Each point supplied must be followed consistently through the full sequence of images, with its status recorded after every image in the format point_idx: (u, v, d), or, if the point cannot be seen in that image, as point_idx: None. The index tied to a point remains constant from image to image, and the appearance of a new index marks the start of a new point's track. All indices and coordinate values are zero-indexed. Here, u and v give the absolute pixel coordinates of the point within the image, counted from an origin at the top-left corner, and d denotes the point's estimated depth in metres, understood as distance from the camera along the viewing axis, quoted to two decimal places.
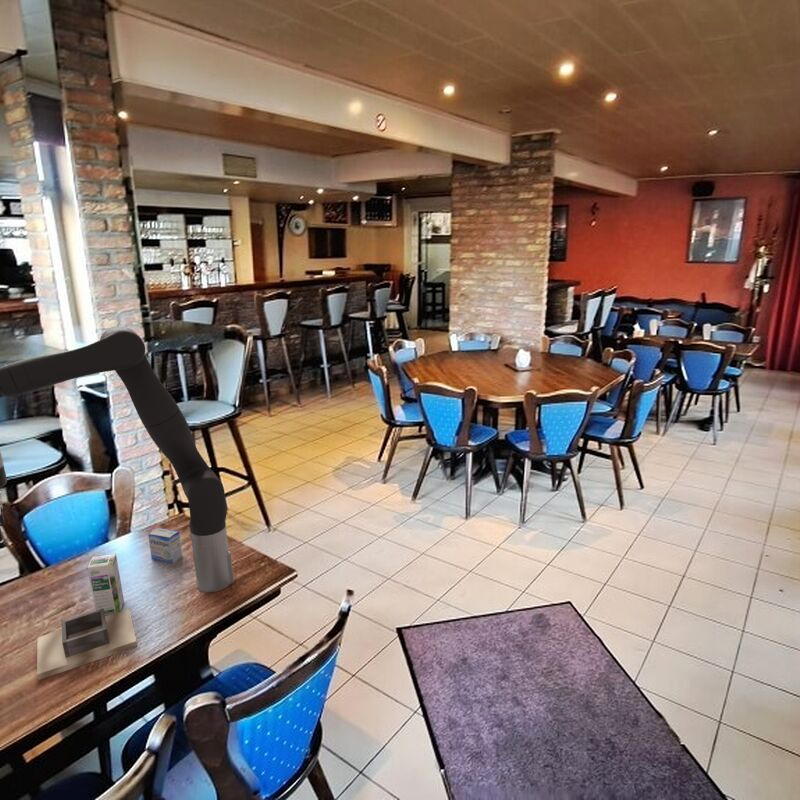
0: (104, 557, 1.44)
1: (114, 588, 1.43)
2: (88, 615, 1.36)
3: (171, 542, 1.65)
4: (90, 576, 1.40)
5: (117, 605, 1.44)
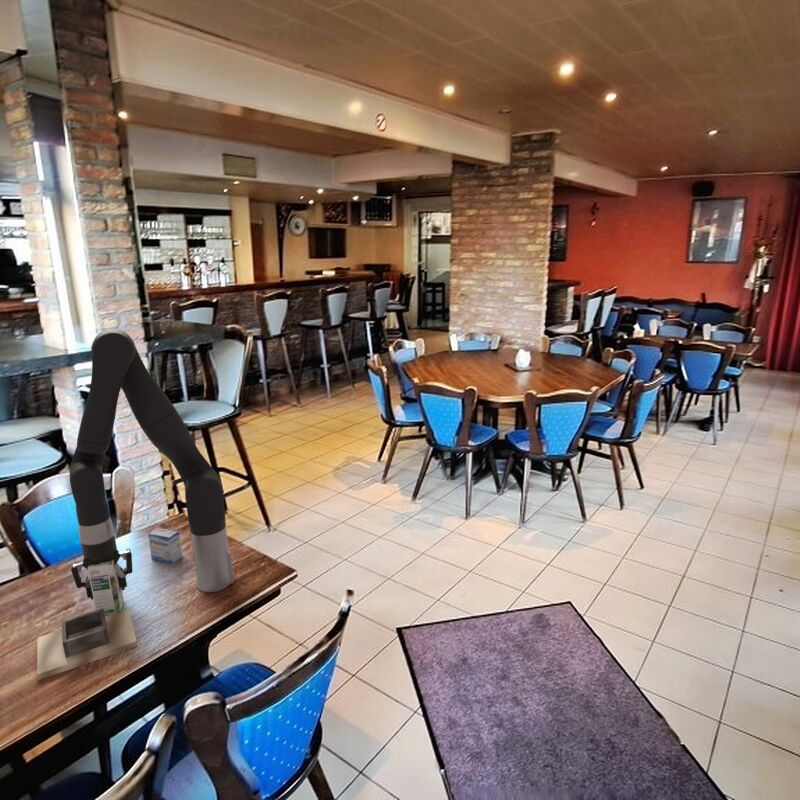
0: None
1: (114, 588, 1.43)
2: (88, 615, 1.36)
3: (171, 542, 1.65)
4: (90, 576, 1.40)
5: (117, 605, 1.44)
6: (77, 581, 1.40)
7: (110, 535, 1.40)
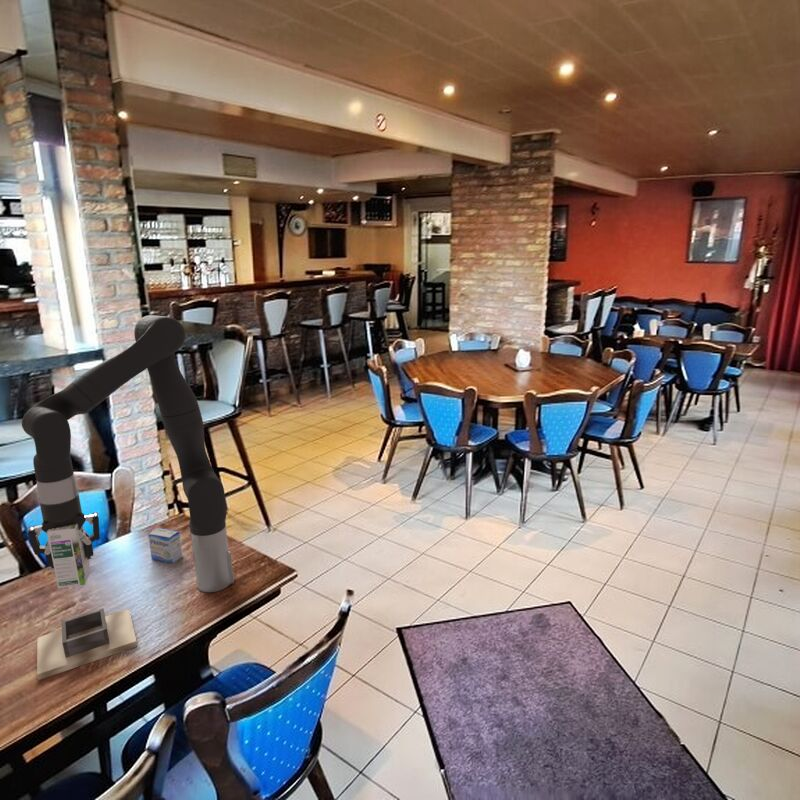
0: None
1: (78, 556, 1.26)
2: (88, 615, 1.36)
3: (171, 542, 1.65)
4: (50, 541, 1.23)
5: (81, 575, 1.27)
6: (35, 546, 1.23)
7: (73, 495, 1.23)
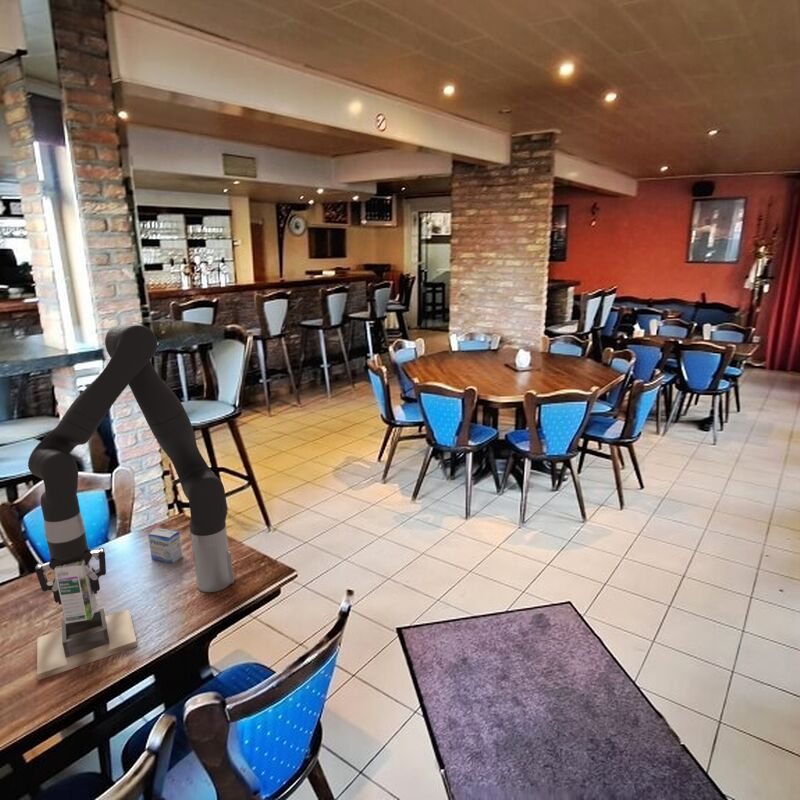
0: None
1: (85, 592, 1.28)
2: None
3: (171, 542, 1.65)
4: (57, 578, 1.25)
5: (88, 610, 1.29)
6: (43, 584, 1.25)
7: (80, 532, 1.25)
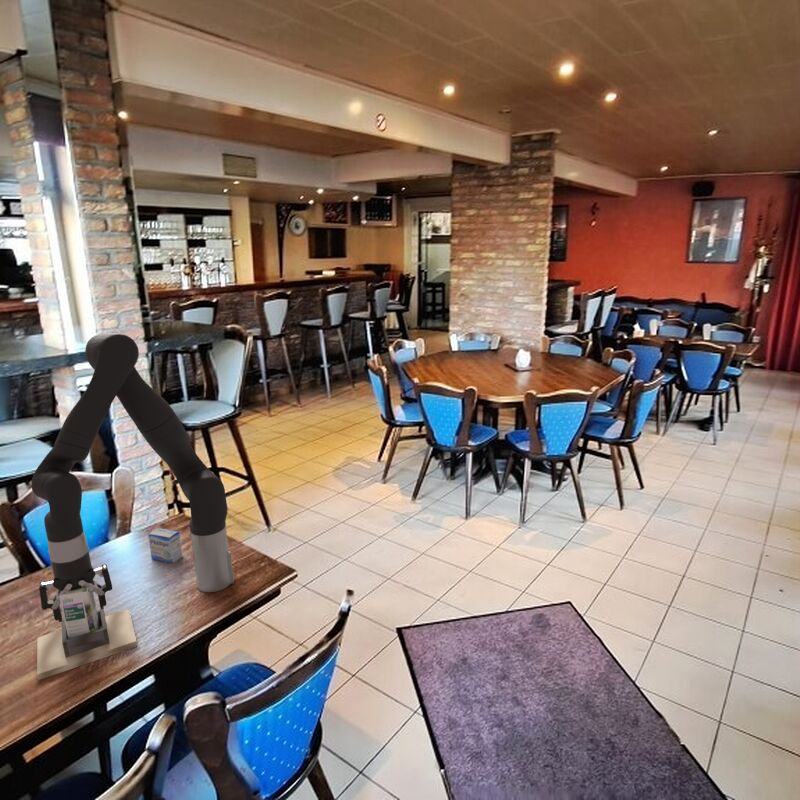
0: None
1: (90, 617, 1.30)
2: None
3: (171, 542, 1.65)
4: (62, 605, 1.27)
5: None
6: (43, 602, 1.26)
7: (83, 552, 1.26)
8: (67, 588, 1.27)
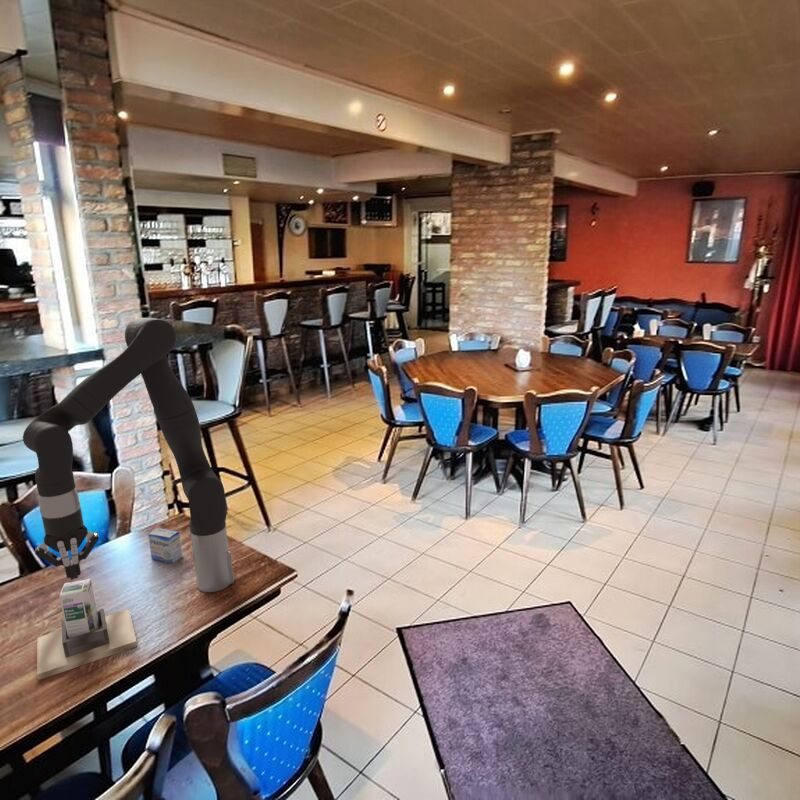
0: (78, 583, 1.31)
1: (90, 617, 1.30)
2: None
3: (171, 542, 1.65)
4: (62, 605, 1.27)
5: None
6: (51, 561, 1.24)
7: (75, 508, 1.23)
8: (58, 545, 1.24)
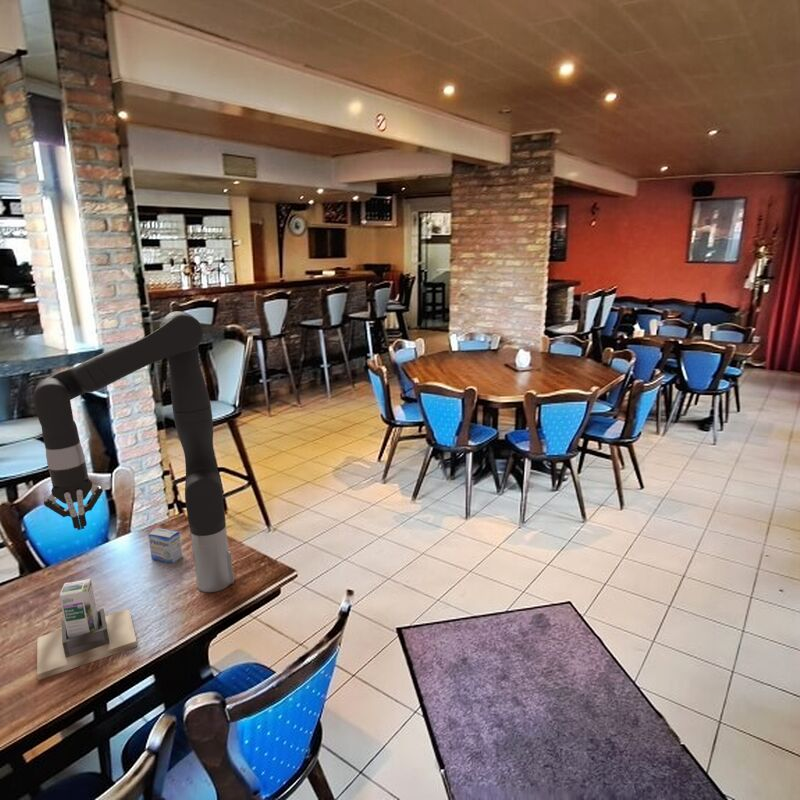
0: (78, 583, 1.31)
1: (90, 617, 1.30)
2: None
3: (171, 542, 1.65)
4: (62, 605, 1.27)
5: None
6: (59, 511, 1.32)
7: (80, 461, 1.31)
8: (65, 496, 1.32)
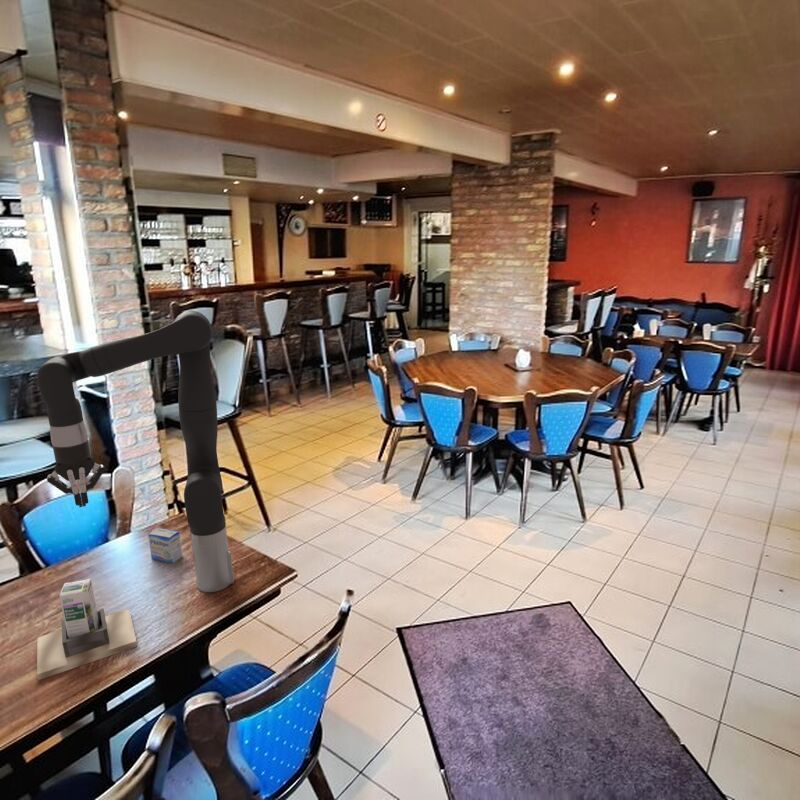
0: (78, 583, 1.31)
1: (90, 617, 1.30)
2: None
3: (171, 542, 1.65)
4: (62, 605, 1.27)
5: None
6: (62, 488, 1.36)
7: (83, 439, 1.35)
8: (68, 473, 1.35)
